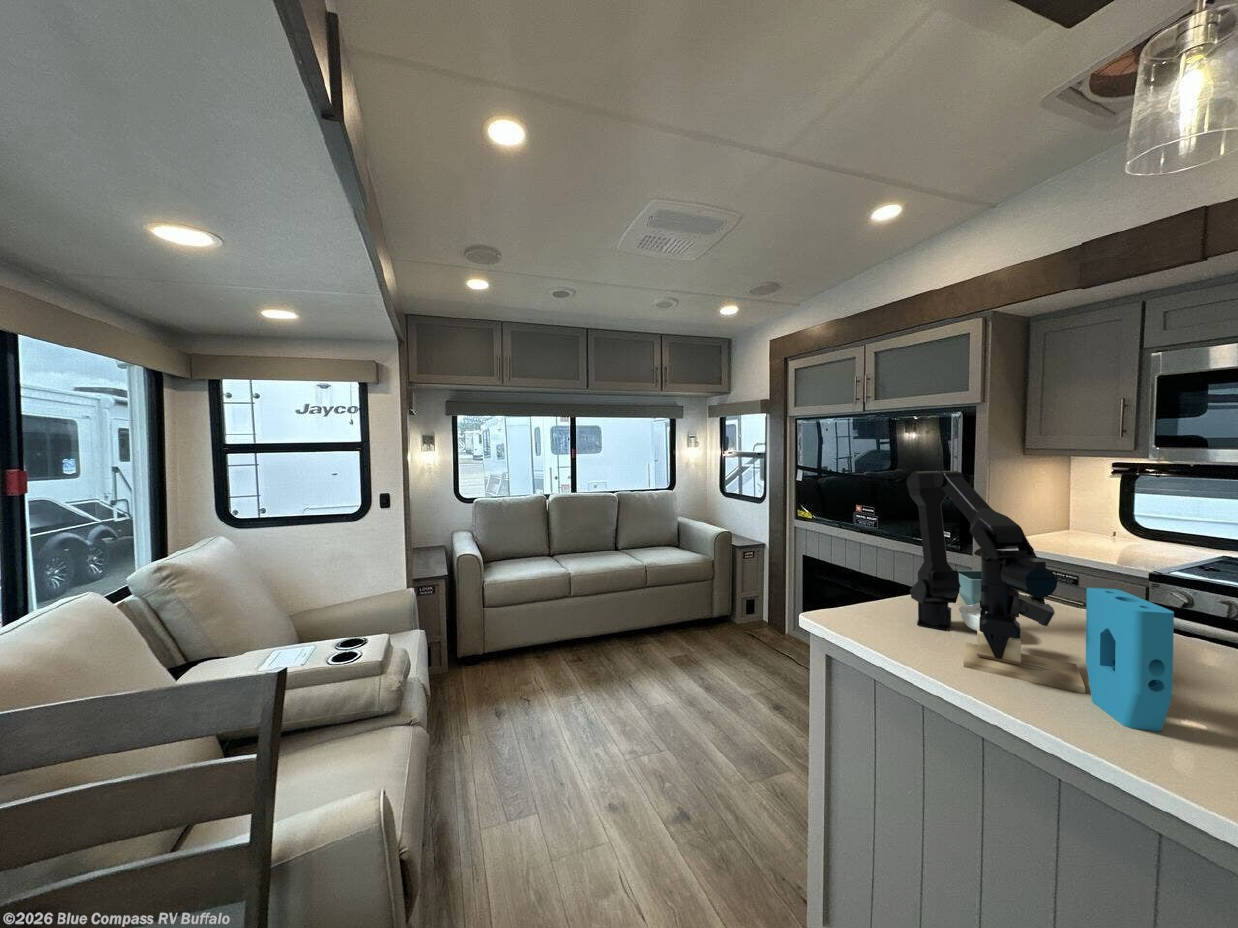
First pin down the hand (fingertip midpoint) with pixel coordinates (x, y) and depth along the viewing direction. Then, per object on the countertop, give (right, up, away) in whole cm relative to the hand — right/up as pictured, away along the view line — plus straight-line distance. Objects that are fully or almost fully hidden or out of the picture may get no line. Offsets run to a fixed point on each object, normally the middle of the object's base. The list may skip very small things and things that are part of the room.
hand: (998, 653), depth 97 cm
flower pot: (+22, 0, +33) cm, 39 cm away
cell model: (+10, -1, +15) cm, 18 cm away
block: (+6, -3, -19) cm, 20 cm away
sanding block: (0, -1, 0) cm, 0 cm away
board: (+3, -2, -2) cm, 4 cm away
